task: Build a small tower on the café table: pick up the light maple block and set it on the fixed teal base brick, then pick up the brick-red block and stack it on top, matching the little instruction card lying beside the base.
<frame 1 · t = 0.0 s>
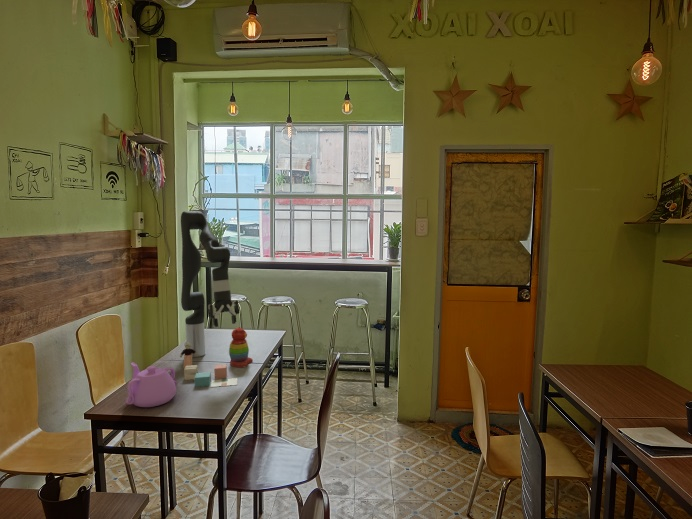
hand: (225, 325, 204), 22 cm above the table, tool pointing down, fingers open, 8 cm apart
maple block: (191, 377, 200), on the table
teal base brick: (203, 383, 192), on the table
stacking bear: (240, 364, 219), on the table
red block: (220, 377, 201), on the table
grandmother figurine: (188, 367, 214), on the table
instruction page: (224, 382, 193), on the table
teapot: (149, 400, 176), on the table
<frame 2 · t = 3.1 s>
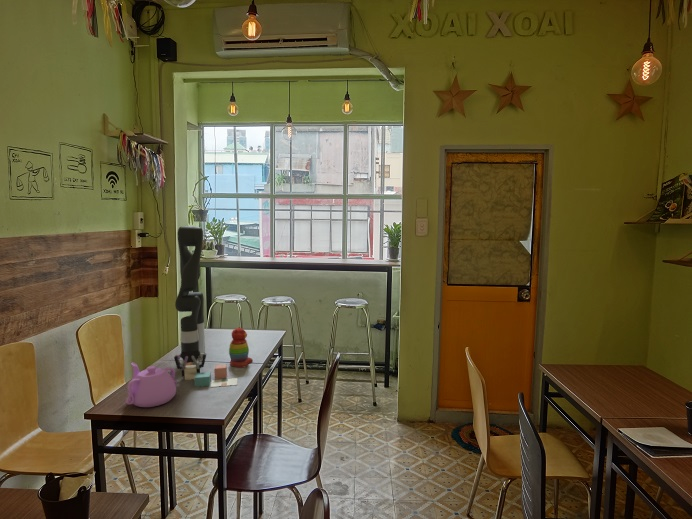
hand: (191, 376, 200), 0 cm above the table, tool pointing down, fingers closed on maple block, 5 cm apart
maple block: (191, 377, 200), on the table, touching gripper
everything else where it was.
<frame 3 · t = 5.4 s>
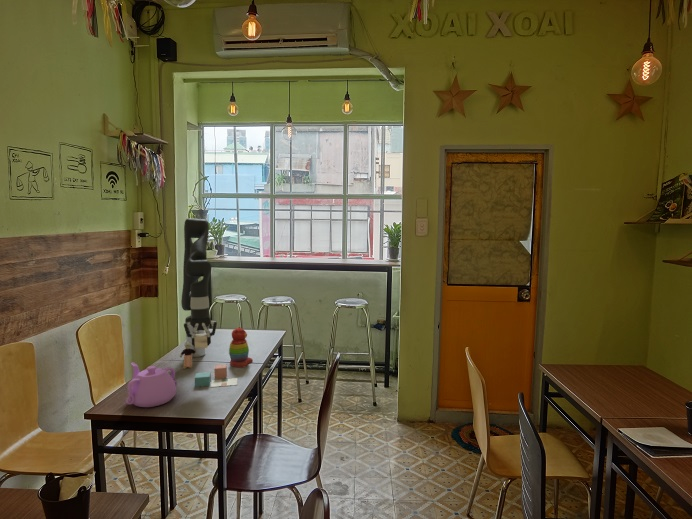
hand: (201, 345, 191), 17 cm above the table, tool pointing down, fingers closed on maple block, 5 cm apart
maple block: (201, 346, 191), point 16 cm above the table, touching gripper
everything else where it was.
when the fingers open (5 cm above the table, at t = 7.9 s): maple block stays where it is, resting on teal base brick.
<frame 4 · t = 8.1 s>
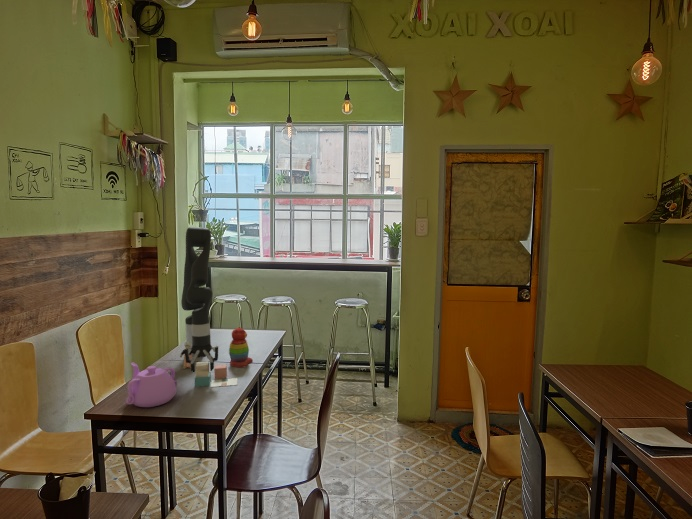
hand: (202, 370, 192), 6 cm above the table, tool pointing down, fingers open, 6 cm apart
maple block: (202, 374, 192), point 4 cm above the table, touching teal base brick
everything else where it was.
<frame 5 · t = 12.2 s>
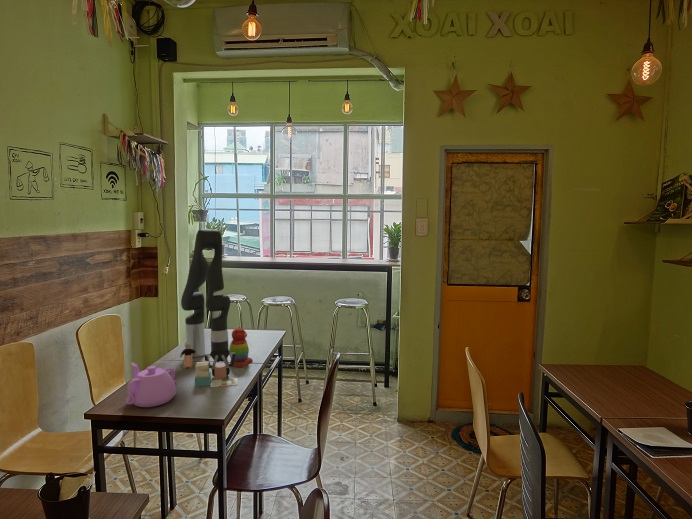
hand: (220, 375, 201), 0 cm above the table, tool pointing down, fingers closed on red block, 5 cm apart
red block: (221, 376, 201), on the table, touching gripper
everything else where it was.
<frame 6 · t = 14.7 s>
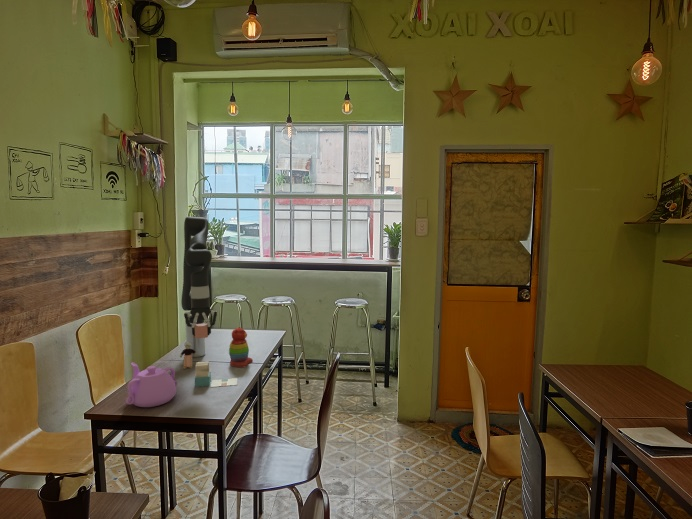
hand: (201, 335, 191), 21 cm above the table, tool pointing down, fingers closed on red block, 5 cm apart
red block: (201, 336, 191), point 21 cm above the table, touching gripper
everything else where it was.
when the fingers open (10 cm above the table, at t = 17.2 s): red block stays where it is, resting on maple block.
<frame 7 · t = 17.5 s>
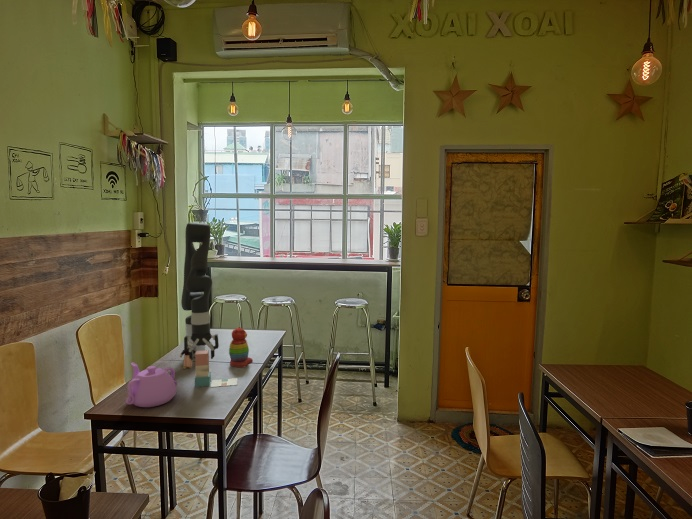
hand: (202, 359, 191), 11 cm above the table, tool pointing down, fingers open, 8 cm apart
maple block: (202, 374, 192), point 4 cm above the table, touching red block, teal base brick
red block: (202, 363, 192), point 9 cm above the table, touching maple block
everything else where it was.
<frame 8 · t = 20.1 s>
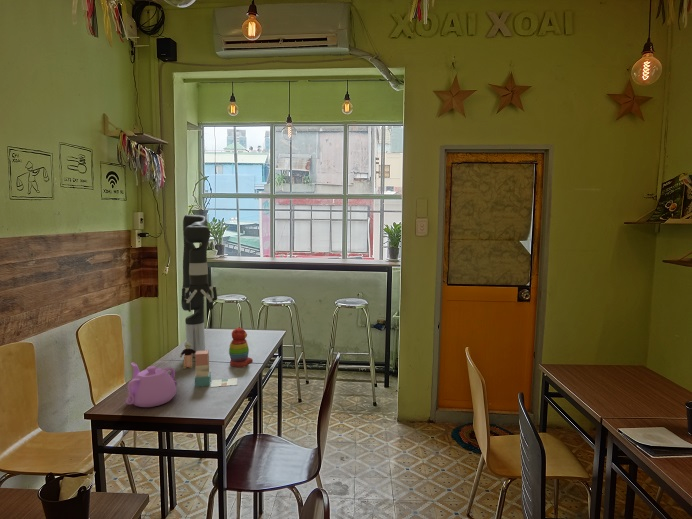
hand: (200, 310, 189), 32 cm above the table, tool pointing down, fingers open, 8 cm apart
nothing on the table moved.
at the end: maple block 0.0 cm off-centre on the teal base brick, point 4.0 cm above the teal base brick's base; red block 0.1 cm off-centre on the teal base brick, point 9.0 cm above the teal base brick's base; red block tilted 0° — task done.
